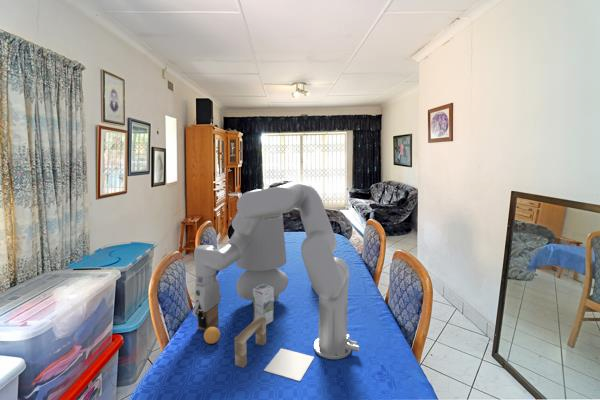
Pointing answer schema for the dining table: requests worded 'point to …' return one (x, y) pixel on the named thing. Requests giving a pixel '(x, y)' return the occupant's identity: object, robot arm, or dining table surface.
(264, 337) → the bridge
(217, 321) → the brown block
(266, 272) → the table lamp
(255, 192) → the robot arm
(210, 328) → the ball
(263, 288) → the syrup box
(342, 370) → the dining table surface
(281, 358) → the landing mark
